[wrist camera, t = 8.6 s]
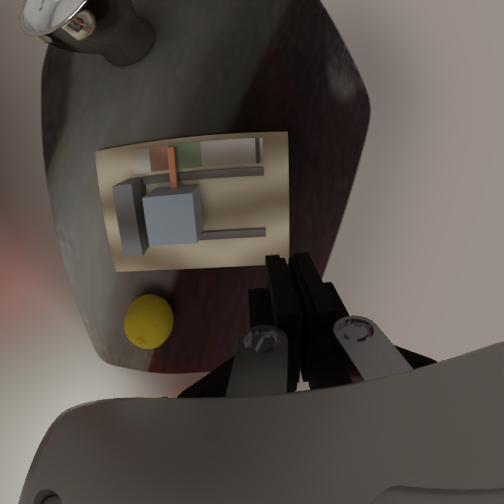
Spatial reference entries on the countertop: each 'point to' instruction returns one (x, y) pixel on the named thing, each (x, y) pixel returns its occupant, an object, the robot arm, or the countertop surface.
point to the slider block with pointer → (173, 211)
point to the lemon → (148, 321)
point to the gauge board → (212, 199)
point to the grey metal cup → (90, 28)
